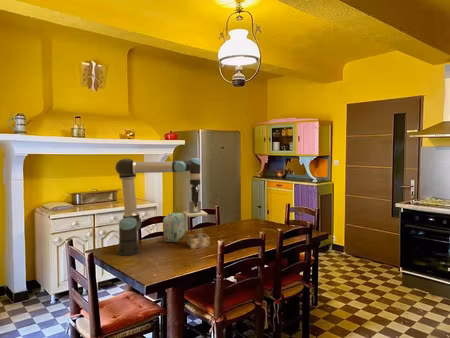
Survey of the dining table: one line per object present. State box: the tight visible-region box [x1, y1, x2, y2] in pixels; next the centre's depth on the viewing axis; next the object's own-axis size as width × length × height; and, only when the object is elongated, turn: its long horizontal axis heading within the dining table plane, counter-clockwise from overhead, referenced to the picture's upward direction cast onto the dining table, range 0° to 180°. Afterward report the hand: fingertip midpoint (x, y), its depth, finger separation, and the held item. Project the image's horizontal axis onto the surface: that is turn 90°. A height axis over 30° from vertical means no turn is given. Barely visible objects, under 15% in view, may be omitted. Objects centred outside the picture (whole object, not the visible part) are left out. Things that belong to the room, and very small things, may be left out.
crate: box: [186, 233, 211, 250], centre depth 260 cm, size 14×14×7 cm
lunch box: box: [162, 212, 186, 243], centre depth 277 cm, size 27×10×21 cm, turn 168°
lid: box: [182, 200, 209, 218], centre depth 257 cm, size 15×15×10 cm
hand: (194, 210), depth 257 cm, fingers closed on lid, 3 cm apart
